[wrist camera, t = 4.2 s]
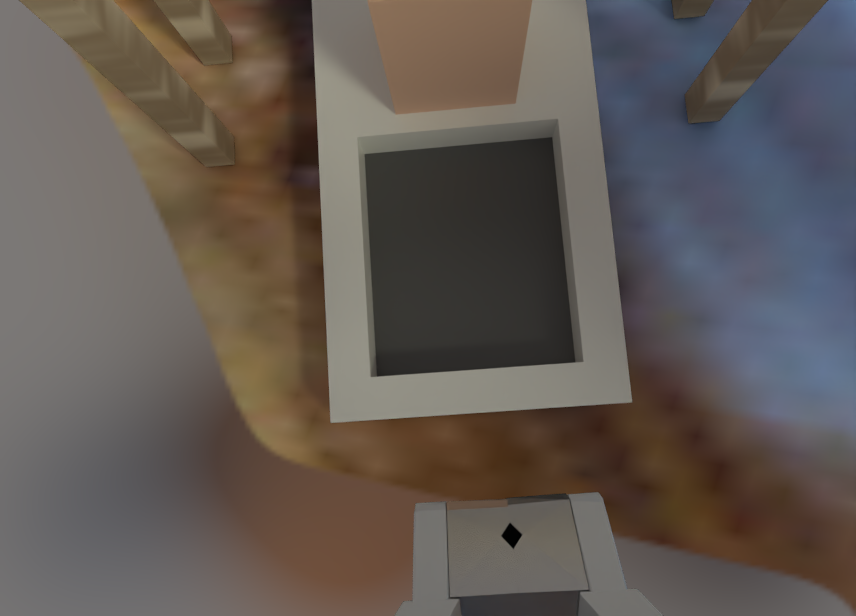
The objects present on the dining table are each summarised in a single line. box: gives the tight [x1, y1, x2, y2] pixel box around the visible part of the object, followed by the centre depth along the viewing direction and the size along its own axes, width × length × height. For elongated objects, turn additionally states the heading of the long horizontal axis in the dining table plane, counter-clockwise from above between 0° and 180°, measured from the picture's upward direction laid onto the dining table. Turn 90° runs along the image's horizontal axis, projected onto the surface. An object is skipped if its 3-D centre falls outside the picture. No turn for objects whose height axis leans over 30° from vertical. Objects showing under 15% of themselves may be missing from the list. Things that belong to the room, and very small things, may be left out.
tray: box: [312, 0, 632, 423], centre depth 33 cm, size 32×14×2 cm, turn 4°
